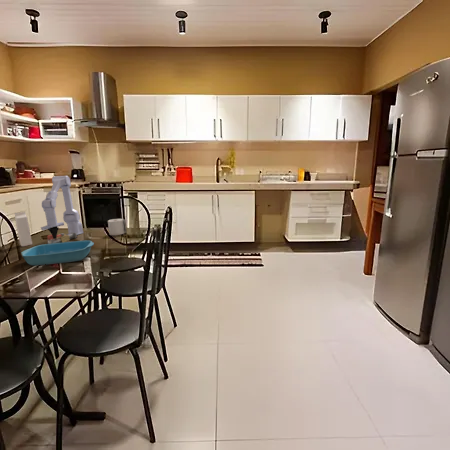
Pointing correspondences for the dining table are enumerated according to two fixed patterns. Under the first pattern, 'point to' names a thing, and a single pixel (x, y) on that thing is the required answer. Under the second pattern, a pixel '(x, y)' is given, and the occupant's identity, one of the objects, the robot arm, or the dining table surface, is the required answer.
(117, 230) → the toilet tissue
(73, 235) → the valve body
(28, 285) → the dining table surface
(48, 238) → the lever
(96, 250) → the dining table surface
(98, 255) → the dining table surface
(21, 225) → the milk
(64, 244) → the casserole dish
